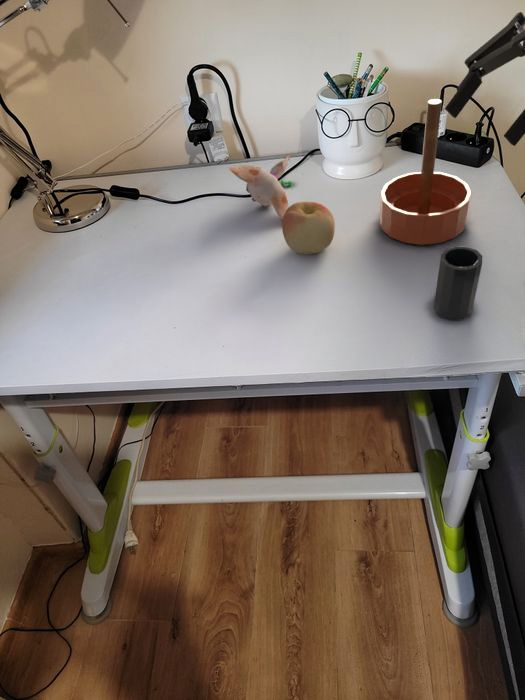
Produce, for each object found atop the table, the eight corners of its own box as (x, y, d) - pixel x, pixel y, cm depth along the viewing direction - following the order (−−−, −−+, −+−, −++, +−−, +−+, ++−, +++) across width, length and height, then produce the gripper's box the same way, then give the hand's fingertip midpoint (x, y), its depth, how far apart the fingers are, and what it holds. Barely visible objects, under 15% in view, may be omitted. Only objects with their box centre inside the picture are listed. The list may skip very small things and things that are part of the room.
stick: (430, 219, 89) (444, 100, 74) (424, 224, 88) (436, 105, 74) (420, 215, 90) (432, 98, 76) (414, 221, 89) (424, 102, 75)
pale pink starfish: (239, 154, 104) (212, 186, 94) (262, 127, 99) (235, 158, 89) (292, 205, 108) (270, 241, 98) (316, 181, 103) (296, 217, 93)
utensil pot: (478, 306, 73) (490, 254, 67) (458, 325, 71) (468, 274, 64) (446, 292, 76) (454, 241, 70) (426, 310, 74) (432, 260, 67)
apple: (281, 239, 92) (276, 199, 86) (330, 230, 91) (328, 190, 86) (288, 267, 85) (283, 226, 80) (340, 258, 85) (339, 216, 80)
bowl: (482, 217, 88) (488, 185, 84) (434, 257, 82) (438, 225, 78) (411, 194, 96) (413, 164, 92) (363, 229, 90) (363, 199, 86)
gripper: (668, 23, 67) (548, 166, 75) (526, -4, 84) (440, 114, 91) (655, -15, 62) (527, 141, 70) (507, -36, 79) (417, 92, 87)
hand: (477, 126), depth 81 cm, fingers open, 13 cm apart
